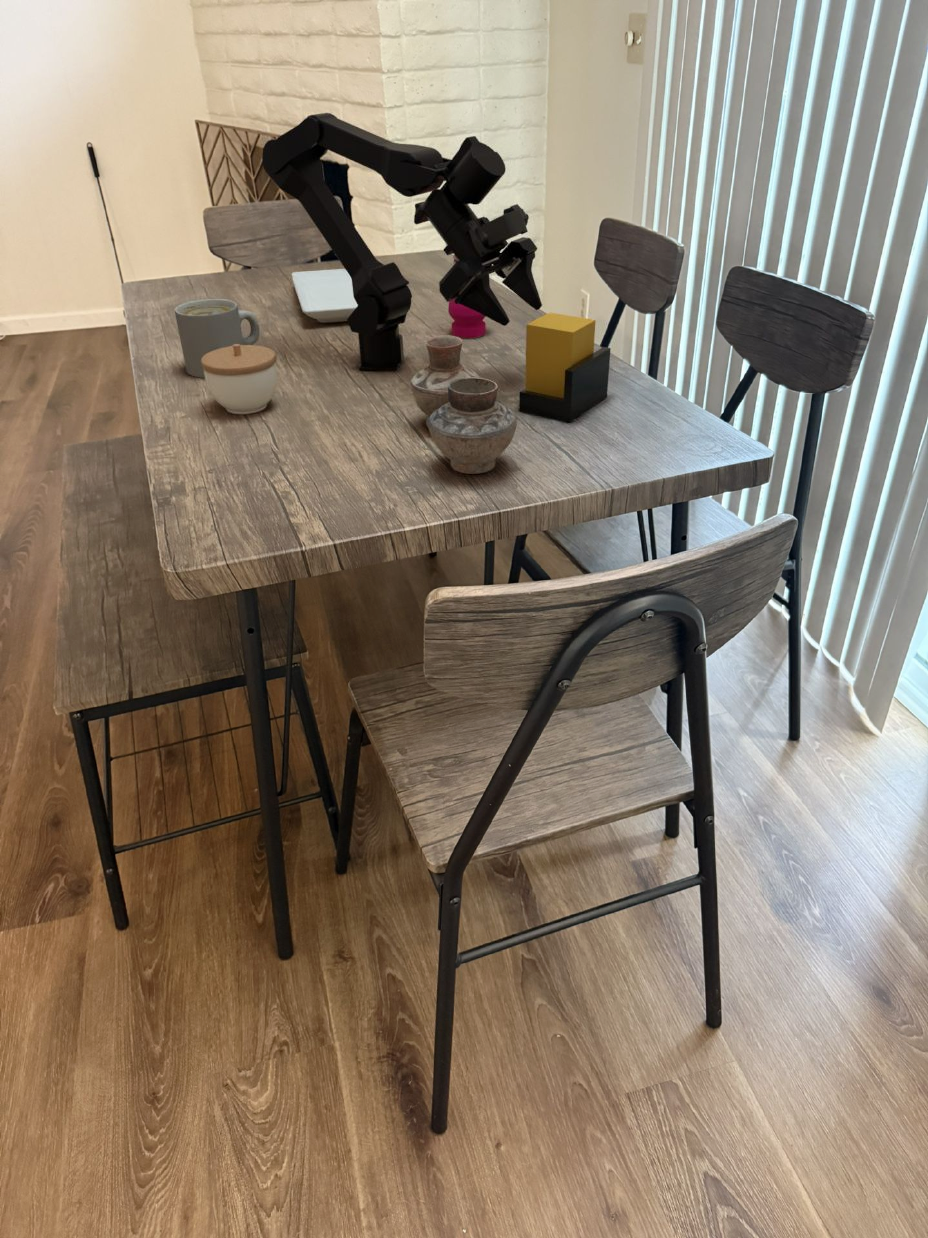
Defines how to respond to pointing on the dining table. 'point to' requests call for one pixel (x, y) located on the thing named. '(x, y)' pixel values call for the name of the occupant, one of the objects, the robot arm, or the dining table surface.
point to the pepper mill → (466, 320)
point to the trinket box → (241, 377)
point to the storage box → (555, 350)
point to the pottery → (461, 409)
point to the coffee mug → (211, 329)
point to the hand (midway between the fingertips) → (523, 315)
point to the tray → (325, 294)
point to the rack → (573, 390)
